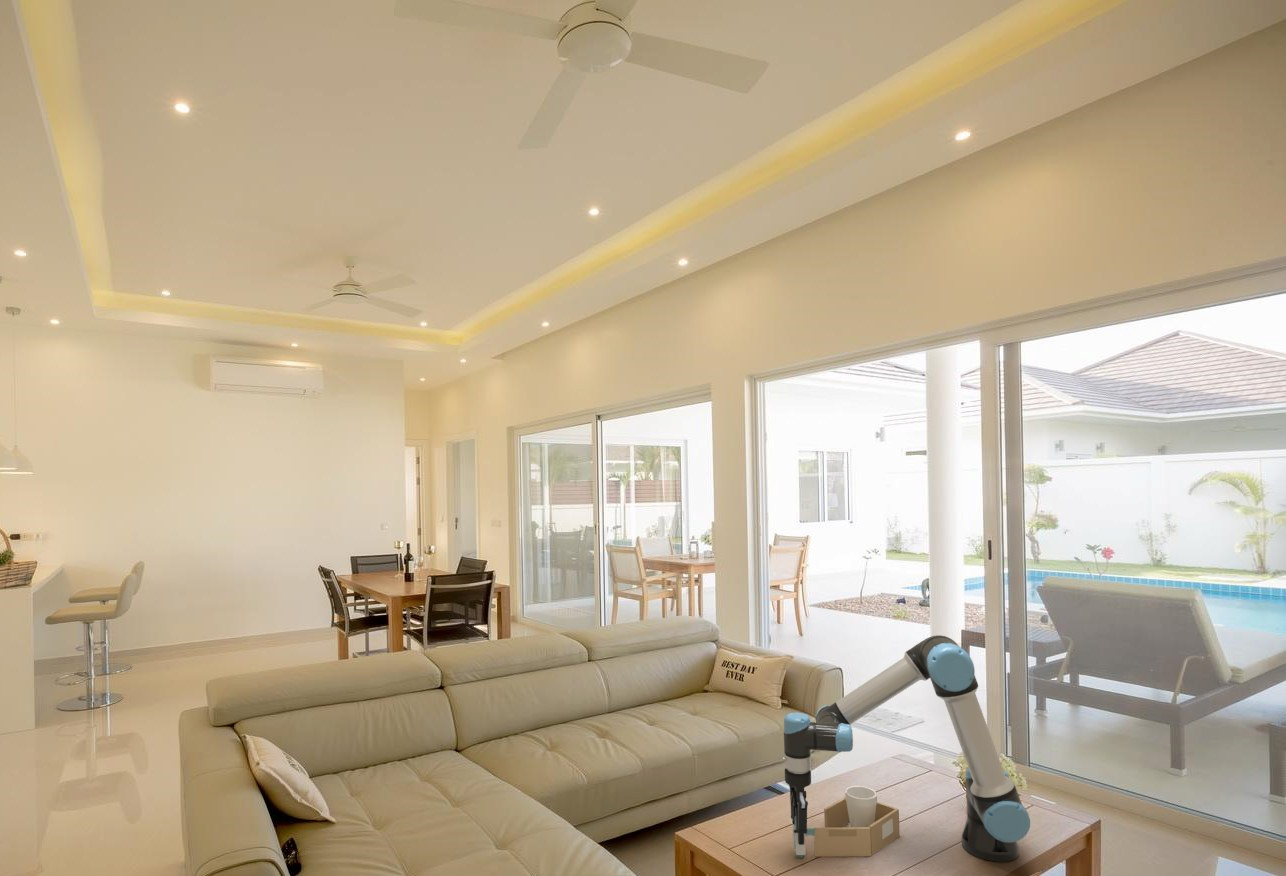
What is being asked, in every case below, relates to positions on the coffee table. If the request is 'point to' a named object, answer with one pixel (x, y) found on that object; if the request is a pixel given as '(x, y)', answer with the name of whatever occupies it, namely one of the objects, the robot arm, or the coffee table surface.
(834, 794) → the coffee table surface
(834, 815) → the carton
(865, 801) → the foam cup
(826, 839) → the teal-tan flat piece
